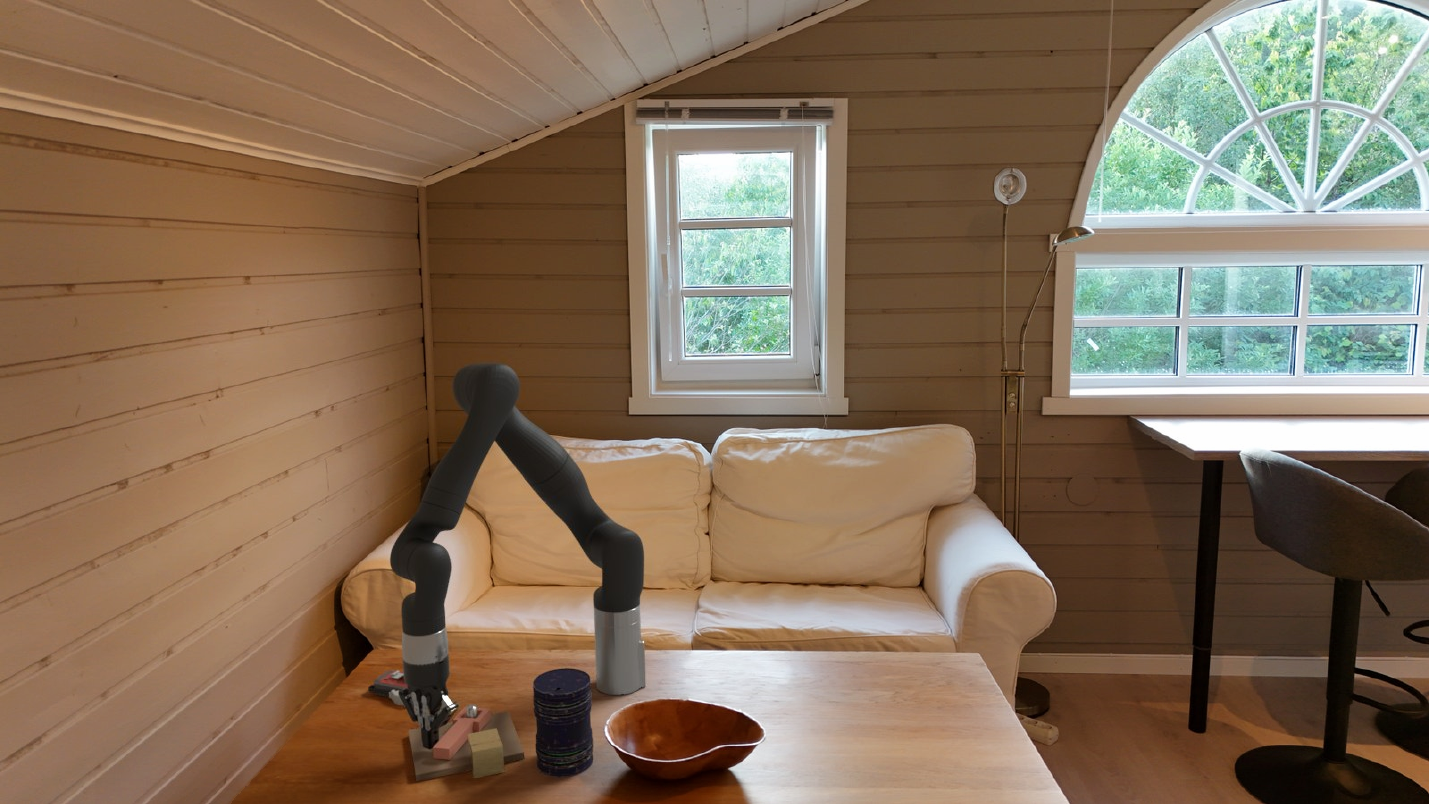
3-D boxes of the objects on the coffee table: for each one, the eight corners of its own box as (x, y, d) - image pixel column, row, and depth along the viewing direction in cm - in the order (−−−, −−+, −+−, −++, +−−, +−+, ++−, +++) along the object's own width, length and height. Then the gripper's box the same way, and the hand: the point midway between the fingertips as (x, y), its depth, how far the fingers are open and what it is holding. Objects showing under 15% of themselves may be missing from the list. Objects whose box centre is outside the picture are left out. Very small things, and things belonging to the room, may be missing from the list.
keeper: (497, 753, 167) (496, 728, 166) (504, 772, 161) (502, 746, 160) (468, 759, 165) (467, 734, 164) (474, 778, 159) (472, 752, 158)
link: (465, 716, 177) (465, 706, 177) (490, 718, 176) (490, 708, 176) (428, 757, 163) (427, 746, 163) (455, 760, 162) (454, 749, 162)
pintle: (477, 728, 176) (475, 703, 175) (478, 733, 174) (477, 707, 173) (467, 730, 175) (465, 705, 174) (468, 735, 173) (466, 709, 173)
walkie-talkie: (360, 700, 188) (445, 716, 181) (358, 679, 187) (443, 694, 181) (390, 680, 196) (472, 696, 189) (388, 660, 196) (471, 675, 189)
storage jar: (543, 746, 169) (539, 667, 167) (598, 746, 169) (595, 667, 166) (530, 777, 159) (526, 694, 157) (589, 778, 159) (585, 694, 156)
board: (508, 716, 180) (508, 710, 180) (524, 758, 165) (524, 752, 165) (408, 736, 173) (408, 730, 173) (416, 781, 159) (416, 775, 158)
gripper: (381, 652, 163) (387, 745, 166) (435, 670, 156) (440, 768, 159) (416, 636, 169) (421, 727, 172) (469, 653, 162) (474, 747, 165)
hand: (430, 746), depth 165 cm, fingers closed
